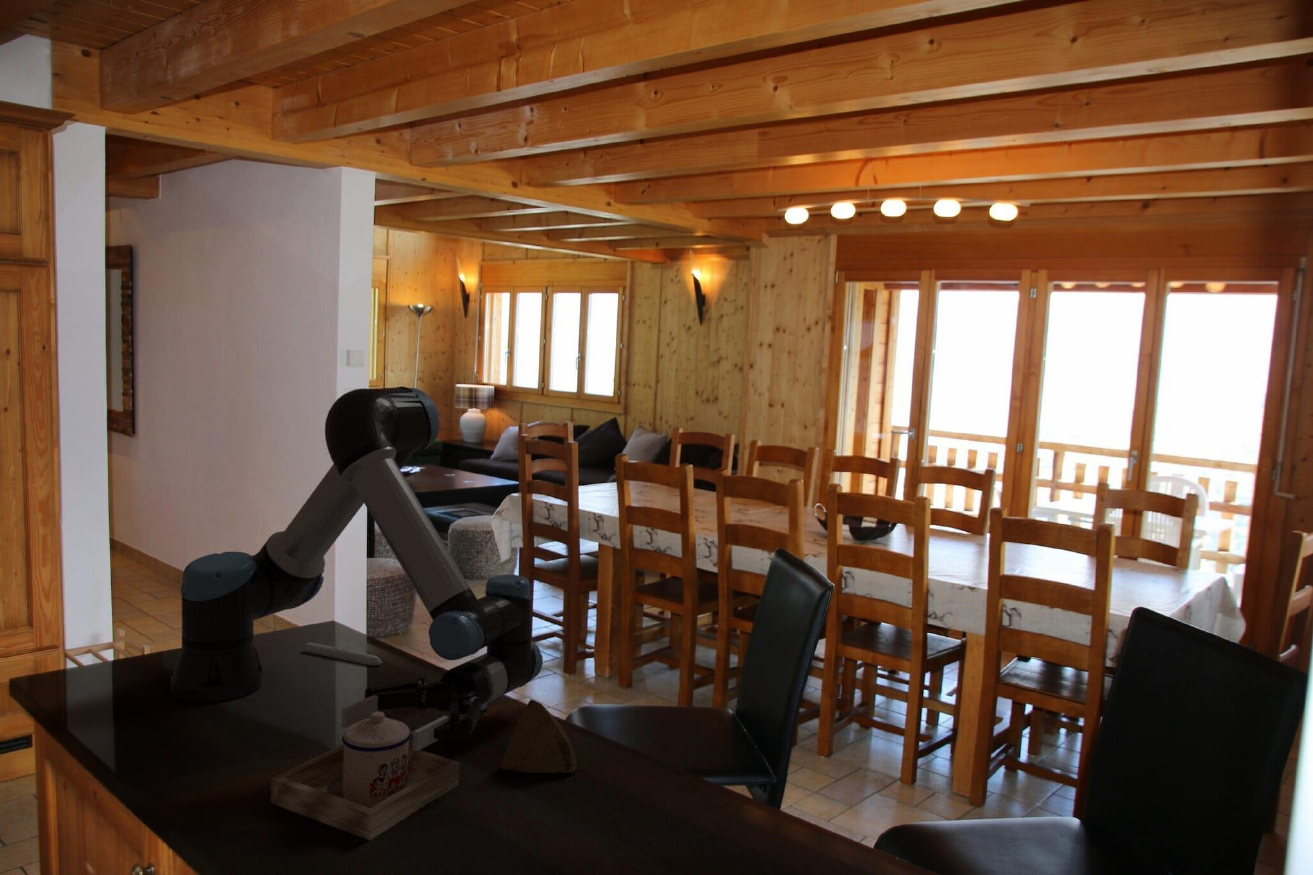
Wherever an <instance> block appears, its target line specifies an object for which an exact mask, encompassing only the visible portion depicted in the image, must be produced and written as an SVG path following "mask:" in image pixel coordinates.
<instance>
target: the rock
mask: <svg viewBox="0 0 1313 875" xmlns="http://www.w3.org/2000/svg"><path fill="white" fill-rule="evenodd" d="M526 705H527V706H526V707H525V708H524V710H523V712H522V714H521V716H520V717H519V719H518V721H517V724H516V726H515V728H514V729H513V734H511V737H510V739H509V741H508V743H507V746H506V750H505V753H504V756H503V758H502V763H501V765H500V770H510V771H515V772H519V773H523V774H524V773H528V774H529V773H530V774H532V773H533V774H536V773H537V774H543V773H544V774H545V773H546V774H554V773H559V774H561V773H562V774H570V773H571V774H573V773H574V772H576V770H577V768H578V765H577V764H578V762H577V756H576V752H575V750H574V748H573V745H572V743H571V742H572V741H571V739H570V738H569V736H568V735H567V733H566V732H565V729H564V728H563V727H562V726H561V724H560V722H559V720H558V719H556V718H555V717H554V716H553V715H552V713H551V712H549V710H548V709H547V708H546V707H545V706H544V705H543V704H542V703H541V702H539V701H537V700H534V699H530V700H529V701H528V703H527V704H526Z"/></svg>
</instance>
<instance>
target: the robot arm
mask: <svg viewBox="0 0 1313 875" xmlns="http://www.w3.org/2000/svg"><path fill="white" fill-rule="evenodd" d="M439 418H440V417H439V411H438V408H437V406H436V404H435V402H434V401H433V399H432V398H431V397H430V396H429V395H428V394H427V393H426V392H424V391H422V390H420V389H418V388H414V387H407V386H396V387H382V388H381V387H380V388H356V389H352V390H349V391H348V392H345V393H344V394H342V395H341V396H340V397H339V398H337V399H336V400H335V401H334V403H332V405H331V407H330V409H329V410H328V413H327V416H326V418H325V423H324V424H325V425H324V436H325V437H324V438H325V443H326V448H327V450H328V454H329V456H330V460H331V461H332V465H331V467H330V468H329V469H328V471H327V472H326V474H325V475H324V476H323V478H322V479H321V481H319V483H318V485H317V486H316V487H315V489H314V490H313V492H312V493H311V494H310V495H309V497H308V498H307V500H306V501H305V502H304V503H303V505H302V507H301V508H300V509H299V510H298V512H297V513H296V515H295V516H294V517H293V518H292V520H291V521H290V523H288V525H287V527H286V528H285V530H284V531H281V530H280V531H277V532H275V533H272V534H271V535H270V536H269V537H268V538H267V539H266V541H265V542H264V544H263V546H261V548H260V549H259V551H257V553H255V554H254V555H251V554H249V553H247V552H243V551H223V552H221V553H217V552H215V553H211V554H210V553H209V554H206V555H204V556H201V557H198V558H196V559H193V560H192V561H190V562H189V563H188V564H187V565H186V566H185V568H184V569H183V571H182V582H181V583H182V584H181V586H180V594H181V648H180V651H179V654H178V658H177V661H176V662H175V666H174V671H173V673H172V675H171V677H170V686H169V687H170V690H169V691H170V692H169V693H170V694H171V696H173V697H175V698H177V699H180V700H183V701H187V702H198V703H199V702H200V703H202V702H203V703H207V702H208V703H210V702H221V701H229V700H233V699H238V698H242V697H244V696H248V695H249V694H253V693H254V692H256V691H257V690H259V689H260V688H262V686H263V684H264V669H263V666H262V662H261V660H260V657H259V655H258V651H257V648H256V646H255V642H254V631H255V630H254V624H255V623H254V622H255V621H256V620H259V619H262V618H264V617H268V616H271V615H274V614H277V613H280V612H282V611H286V610H291V609H296V608H299V607H300V606H302V605H304V604H306V603H308V602H309V601H311V600H312V599H313V598H315V597H316V596H317V594H319V591H320V590H321V588H322V586H323V583H324V580H325V577H324V576H323V574H324V573H325V567H326V561H325V556H326V555H327V552H329V550H330V549H331V547H332V546H333V545H334V544H335V542H336V541H337V540H338V539H339V537H340V536H341V534H342V533H343V532H344V530H345V529H346V528H347V526H348V525H349V524H350V522H351V521H352V520H353V519H354V518H355V516H356V515H357V514H358V512H359V510H360V509H362V507H363V506H364V505H365V507H366V509H367V511H368V512H369V513H370V515H371V517H372V519H373V521H374V523H375V524H376V526H377V528H378V529H379V531H380V533H381V534H382V536H383V537H384V539H385V541H386V543H387V544H388V547H389V548H390V550H391V551H392V553H393V555H394V556H395V558H396V560H397V561H398V563H399V565H400V566H401V569H402V570H403V571H404V573H405V575H406V577H407V579H408V581H409V582H410V584H411V585H412V588H413V589H414V590H415V592H416V593H417V596H418V597H419V599H420V601H421V602H422V604H423V606H424V607H425V609H426V611H427V613H428V614H429V616H430V618H431V620H432V621H431V623H430V625H429V629H428V636H429V644H430V647H431V649H432V650H433V652H435V654H436V655H437V656H439V657H440V658H442V659H444V660H446V661H457V660H460V659H463V658H465V657H468V656H469V657H470V656H472V655H475V654H476V653H478V652H479V651H480V650H482V649H484V648H486V652H485V653H484V654H481V655H478V656H477V657H474V658H472V659H469V660H468V661H465V662H463V663H461V664H459V665H457V666H454V667H452V668H450V669H448V670H447V671H446V672H445V673H444V675H443V676H442V677H441V679H440V680H439V681H435V682H433V683H429V684H428V683H425V682H426V679H425V677H418V678H415V679H411V680H408V681H403V682H398V683H392V684H386V685H381V686H376V687H370V688H366V689H364V698H363V699H362V700H359V701H357V702H355V703H353V704H350V705H349V706H345V707H343V708H341V728H344V729H347V728H348V727H349V726H351V725H353V724H355V723H357V722H360V721H364V720H366V719H369V718H370V715H371V714H372V713H373V712H379V711H382V710H383V711H384V710H393V709H401V708H403V709H404V708H415V707H416V709H418V710H424V709H435V710H438V711H440V712H449V713H448V714H449V716H447V715H443V716H441V717H439V718H436V719H435V720H433V721H431V722H430V723H427V724H425V725H422V726H421V727H419V728H417V729H415V730H413V732H414V743H413V750H416V751H419V750H423V749H425V748H426V747H428V746H430V745H431V744H434V743H435V742H437V741H439V740H443V739H445V738H447V737H449V736H451V735H452V736H454V735H458V734H459V733H462V736H463V737H470V736H471V735H472V734H473V731H474V729H475V727H476V726H477V724H478V722H479V720H480V718H481V716H483V715H484V714H485V713H487V711H488V703H490V702H492V701H494V700H496V699H497V698H500V697H502V696H504V695H507V694H508V693H510V692H512V691H514V690H516V689H518V688H521V687H523V686H525V685H527V684H528V683H529V682H531V681H533V679H535V678H536V677H538V675H539V674H540V672H541V671H542V668H543V662H544V659H543V658H544V657H543V654H542V653H541V650H540V647H539V646H538V645H537V643H536V642H535V641H533V640H532V639H531V627H532V625H531V624H532V620H531V618H532V596H531V583H530V581H529V579H528V578H527V577H524V576H522V575H517V574H501V575H500V574H499V575H496V576H491V577H489V578H488V580H487V582H486V584H485V591H484V593H485V596H483V597H480V598H477V597H476V594H475V593H474V592H473V590H472V589H471V587H470V585H469V583H468V582H467V580H466V578H465V577H464V575H463V573H462V572H461V570H460V568H459V567H458V565H457V563H456V562H455V560H454V558H453V556H452V555H451V553H450V552H449V550H448V548H447V546H446V545H445V543H444V542H443V540H442V538H441V536H440V534H439V533H438V532H437V529H436V528H435V525H434V524H433V523H432V521H431V519H430V518H429V516H428V514H427V512H426V510H425V509H424V508H423V506H422V504H421V503H420V502H421V501H419V499H418V497H417V496H416V493H415V492H414V491H413V489H412V487H411V486H410V484H409V482H408V481H407V479H406V477H405V475H404V473H403V472H402V471H401V469H402V468H403V467H404V465H406V463H407V462H408V460H410V458H411V456H412V455H413V454H414V453H415V452H422V451H424V450H426V449H428V448H429V447H431V446H432V445H433V444H434V443H435V441H436V440H437V438H438V435H439V433H440V420H439ZM423 695H425V696H424V698H425V700H424V702H422V701H423V697H422V696H423ZM460 715H464V716H463V719H460Z"/></svg>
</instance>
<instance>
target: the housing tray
mask: <svg viewBox="0 0 1313 875" xmlns="http://www.w3.org/2000/svg"><path fill="white" fill-rule="evenodd" d="M343 759H344V743H343V744H341V745H339V746H337V747H335V748H332V749H330V750H328V751H326V752H323V753H322V754H320V755H318V756H315V757H313V758H311V759H309V760H307V761H305V762H303V763H301V764H299V765H297V766H295V767H294V766H293V767H292V768H291V769H288V770H286V771H284V772H281V773H280V774H278V775H276V776H274V777H271V778H270V804H272V805H276V806H278V807H281V808H283V809H286V810H288V811H291V812H293V813H295V814H298V815H301V816H304V817H307V818H308V819H309V818H310V819H313V820H315V821H318V822H320V823H322V824H325V825H329V826H330V827H334V828H335V829H338V830H341V831H344V832H346V833H350V834H352V835H355V836H357V837H360V838H362V839H366V840H368V841H372V840H373V839H375V838H376V837H378V836H379V835H381V834H384V832H386V831H388V830H389V829H391V828H392V827H393V826H395V825H397V824H398V822H399V823H400V822H401V820H402V821H403V820H405V819H406V817H407V818H408V817H410V816H411V814H412V813H413V814H414V812H415V813H416V812H418V811H420V810H421V809H423V808H424V807H426V806H427V805H426V804H428V803H429V804H431V803H432V802H434V801H435V800H434V799H436V800H437V799H439V798H440V797H442V796H444V795H445V794H447V793H448V792H450V791H451V790H452V791H453V789H455V788H456V787H459V785H460V782H459V781H460V761H456V760H454V759H451V758H448V757H443V756H441V755H438V754H434V753H431V752H428V751H425V750H423V749H420V750H419V751H416V750H414V753H413V755H412V757H411V759H410V760H409V761H408V777H407V787H406V788H404V789H402V790H401V791H399V792H397V793H395V794H394V795H392V796H390V797H389V798H387V799H385V800H383V801H382V802H380V803H378V804H376V805H375V806H373V807H371V808H368V807H365V806H363V805H360V804H357V803H354V802H351V801H349V800H346V799H344V798H343ZM433 800H434V801H433ZM431 801H432V802H431ZM430 802H431V803H430ZM429 804H428V805H429ZM425 805H426V806H425ZM422 807H423V808H422ZM420 808H421V809H420ZM419 809H420V810H419ZM417 810H418V811H417ZM413 814H412V815H413ZM409 815H410V816H409Z"/></svg>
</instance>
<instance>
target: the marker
mask: <svg viewBox="0 0 1313 875" xmlns="http://www.w3.org/2000/svg"><path fill="white" fill-rule="evenodd" d="M304 652H305V653H307V654H313V655H318V656H324V657H327V658H331V659H332V658H333V659H337V660H342V661H348V662H351V663H357V664H361V665H366V666H367V665H368V666H375V667H377V666H379V665H381V664H383V661H382V660H381V659H380V657H378V656H377V655H374V654H369V653H364V652H359V651H355V650H350V649H349V648H348V649H347V648H341V647H338V646H335V647H334V646H330V645H326V644H325V645H324V644H320V643H314V642H307V643H306V644H305V645H304Z"/></svg>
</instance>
